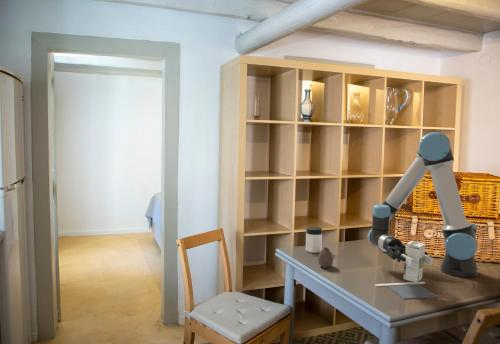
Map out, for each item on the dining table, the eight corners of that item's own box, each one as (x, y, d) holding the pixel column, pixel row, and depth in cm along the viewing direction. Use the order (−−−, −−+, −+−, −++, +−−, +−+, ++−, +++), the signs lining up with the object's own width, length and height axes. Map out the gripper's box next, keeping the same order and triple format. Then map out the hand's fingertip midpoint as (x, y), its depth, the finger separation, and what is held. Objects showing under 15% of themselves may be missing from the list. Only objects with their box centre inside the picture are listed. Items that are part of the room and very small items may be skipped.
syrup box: (407, 275, 165) (410, 240, 163) (422, 279, 161) (425, 243, 159) (402, 279, 160) (405, 243, 159) (418, 283, 157) (420, 246, 155)
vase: (327, 263, 193) (328, 245, 192) (335, 268, 187) (336, 249, 186) (315, 264, 191) (315, 246, 190) (322, 269, 184) (323, 250, 184)
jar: (308, 253, 209) (309, 230, 208) (302, 248, 217) (303, 226, 216) (324, 252, 211) (325, 229, 210) (318, 247, 219) (319, 226, 218)
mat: (418, 285, 168) (418, 284, 167) (437, 297, 156) (437, 296, 156) (387, 287, 165) (387, 286, 165) (403, 299, 153) (403, 298, 153)
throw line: (423, 282, 171) (423, 281, 171) (425, 283, 169) (425, 283, 169) (375, 285, 167) (375, 284, 167) (376, 286, 165) (376, 285, 165)
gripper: (411, 252, 180) (445, 270, 157) (368, 254, 176) (396, 272, 154) (412, 236, 179) (446, 252, 157) (369, 237, 175) (397, 253, 153)
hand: (421, 262), depth 155 cm, fingers closed on syrup box, 8 cm apart
